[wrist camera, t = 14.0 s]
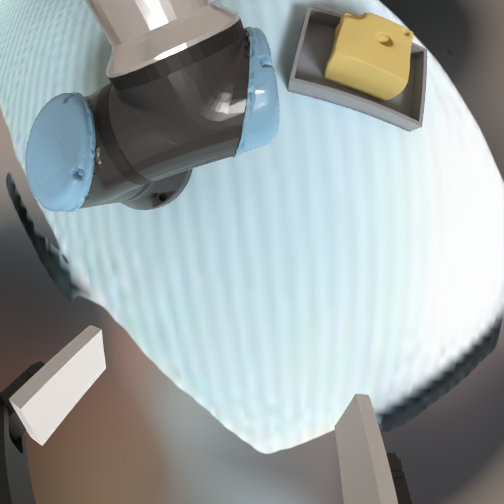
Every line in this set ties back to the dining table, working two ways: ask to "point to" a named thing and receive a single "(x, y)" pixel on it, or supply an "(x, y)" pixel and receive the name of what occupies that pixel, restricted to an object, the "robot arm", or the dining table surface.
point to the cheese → (370, 55)
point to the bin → (315, 85)
